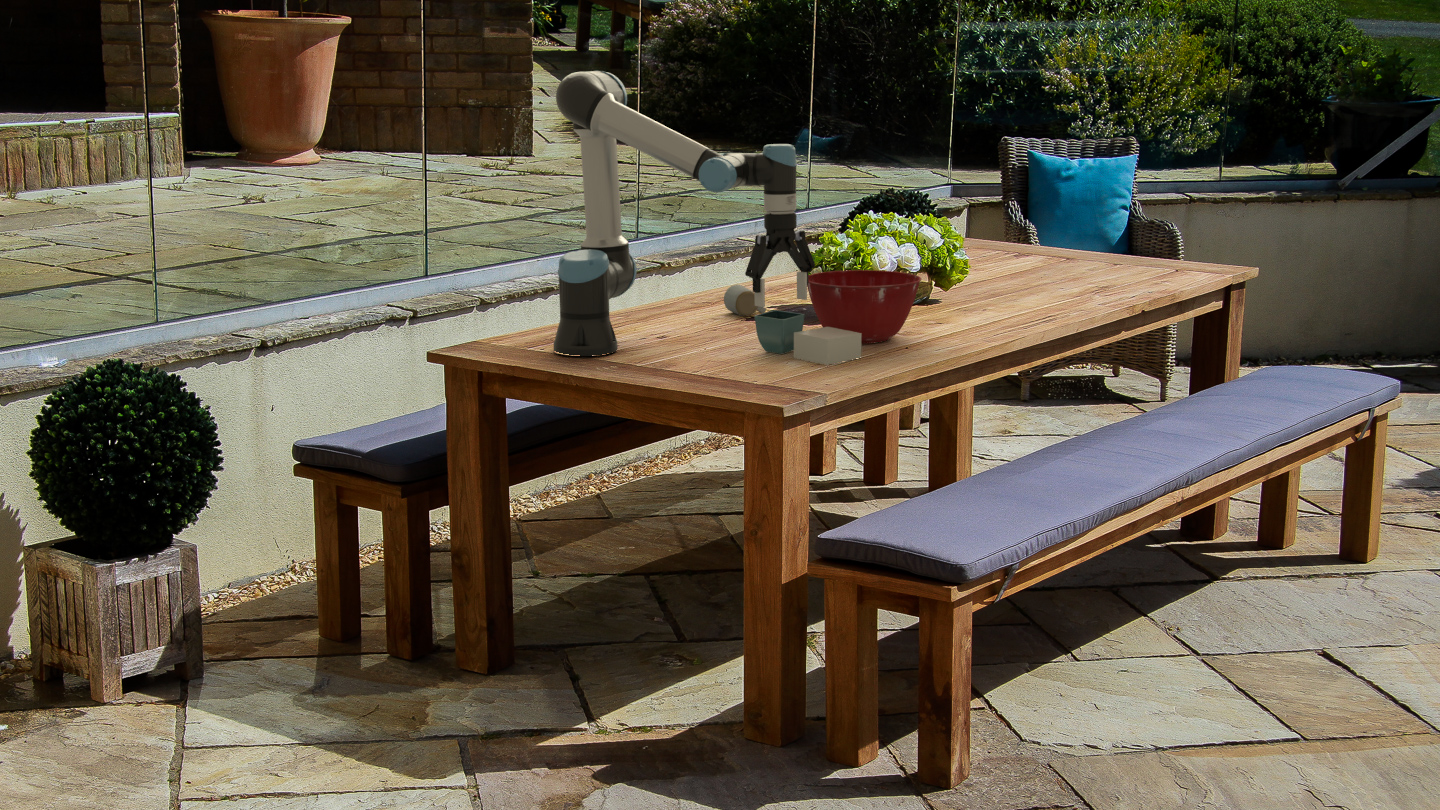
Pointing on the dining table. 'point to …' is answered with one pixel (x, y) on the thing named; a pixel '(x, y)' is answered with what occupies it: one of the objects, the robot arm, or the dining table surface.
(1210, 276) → the dining table surface
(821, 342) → the stone block
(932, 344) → the dining table surface
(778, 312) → the flower pot
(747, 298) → the ceramic mug
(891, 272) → the mixing bowl
